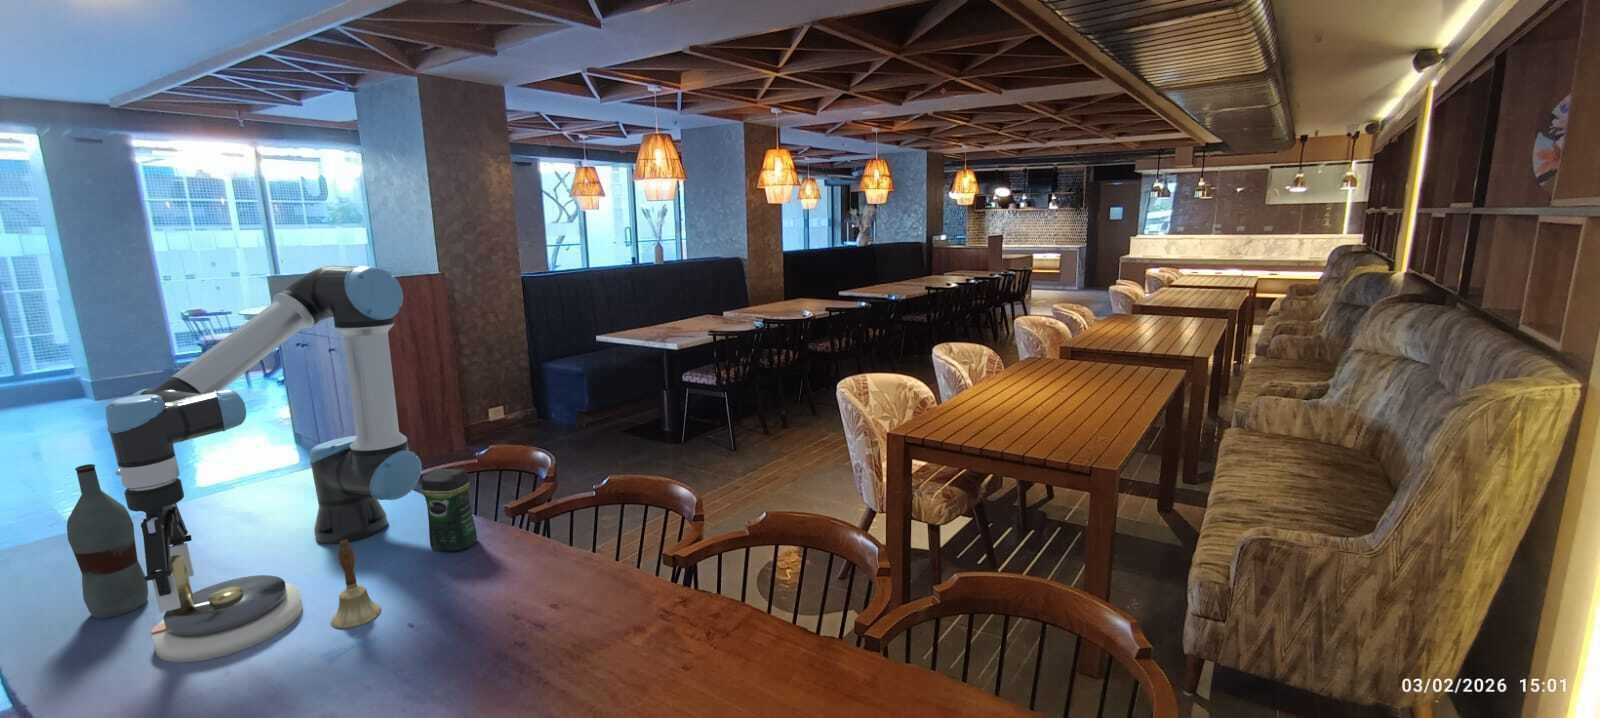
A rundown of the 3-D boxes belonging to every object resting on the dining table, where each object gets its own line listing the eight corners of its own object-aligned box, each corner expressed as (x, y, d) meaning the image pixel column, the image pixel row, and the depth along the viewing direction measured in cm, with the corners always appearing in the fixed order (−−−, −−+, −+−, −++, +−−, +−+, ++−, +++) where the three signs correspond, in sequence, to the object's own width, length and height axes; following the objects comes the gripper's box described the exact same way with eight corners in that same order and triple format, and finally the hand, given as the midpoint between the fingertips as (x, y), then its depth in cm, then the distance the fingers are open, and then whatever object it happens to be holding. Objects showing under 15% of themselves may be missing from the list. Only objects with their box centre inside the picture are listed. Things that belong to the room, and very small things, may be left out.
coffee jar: (483, 538, 169) (473, 464, 165) (462, 554, 161) (451, 477, 157) (447, 536, 170) (436, 462, 167) (424, 551, 163) (413, 475, 159)
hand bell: (391, 608, 140) (379, 533, 136) (353, 632, 132) (339, 553, 129) (360, 602, 142) (347, 528, 139) (320, 625, 135) (306, 547, 131)
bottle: (96, 625, 136) (58, 478, 130) (81, 612, 141) (43, 470, 135) (158, 602, 144) (125, 462, 138) (142, 590, 149) (109, 455, 143)
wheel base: (304, 584, 150) (301, 568, 149) (300, 634, 132) (296, 617, 131) (168, 618, 138) (164, 601, 138) (142, 678, 120) (138, 660, 119)
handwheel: (292, 575, 146) (281, 521, 144) (280, 617, 131) (268, 558, 128) (179, 600, 138) (166, 543, 135) (152, 649, 122) (137, 585, 120)
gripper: (140, 467, 134) (164, 570, 138) (104, 512, 113) (134, 632, 117) (191, 458, 137) (213, 559, 142) (166, 501, 117) (192, 617, 121)
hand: (177, 592), depth 130 cm, fingers open, 13 cm apart
